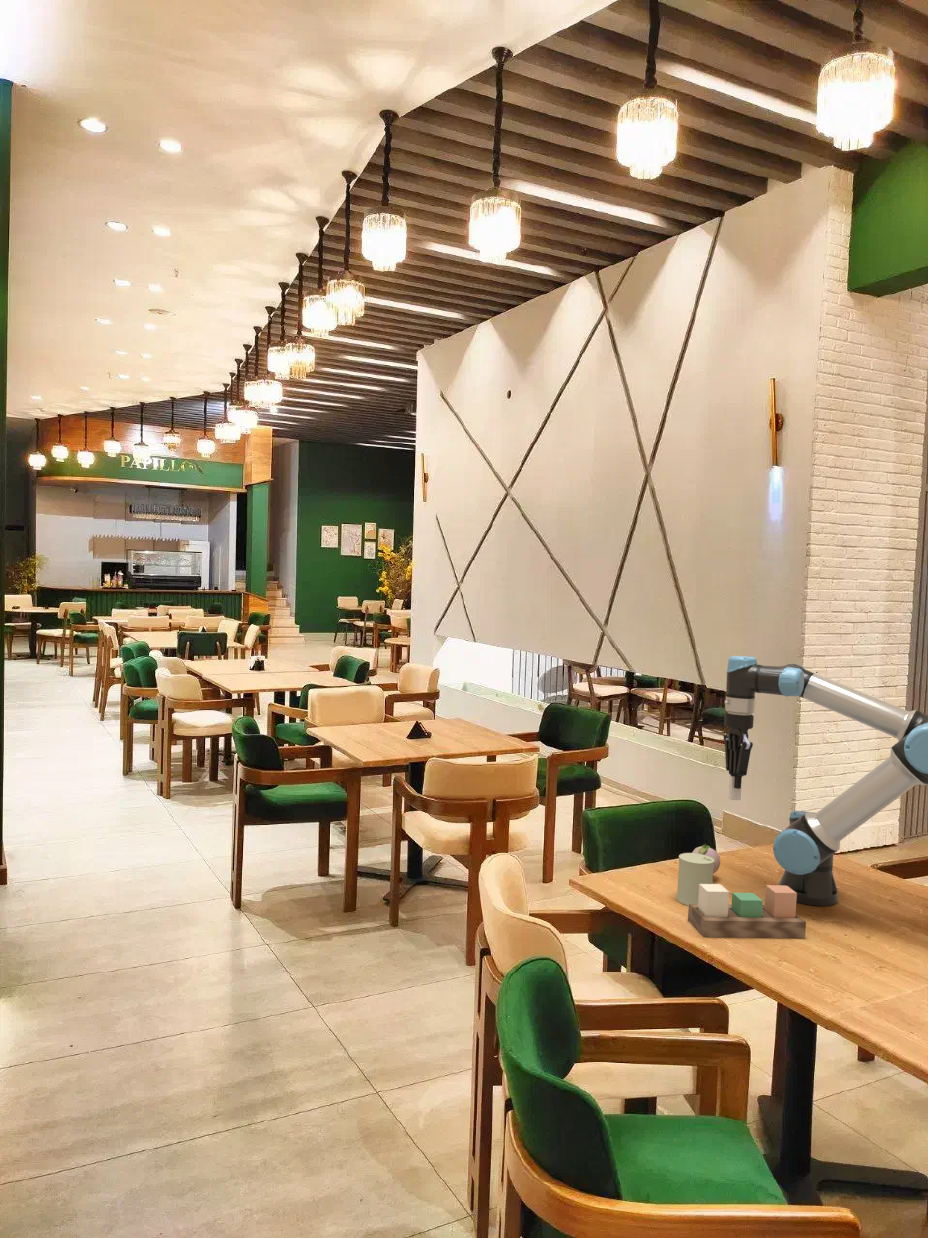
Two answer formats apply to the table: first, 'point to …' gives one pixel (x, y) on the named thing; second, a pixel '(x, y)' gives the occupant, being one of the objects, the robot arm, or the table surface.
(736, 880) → the table surface
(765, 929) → the walnut board
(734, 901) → the green block
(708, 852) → the decorative fruit
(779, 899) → the terracotta block
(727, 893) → the cream block
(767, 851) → the table surface
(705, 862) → the can
